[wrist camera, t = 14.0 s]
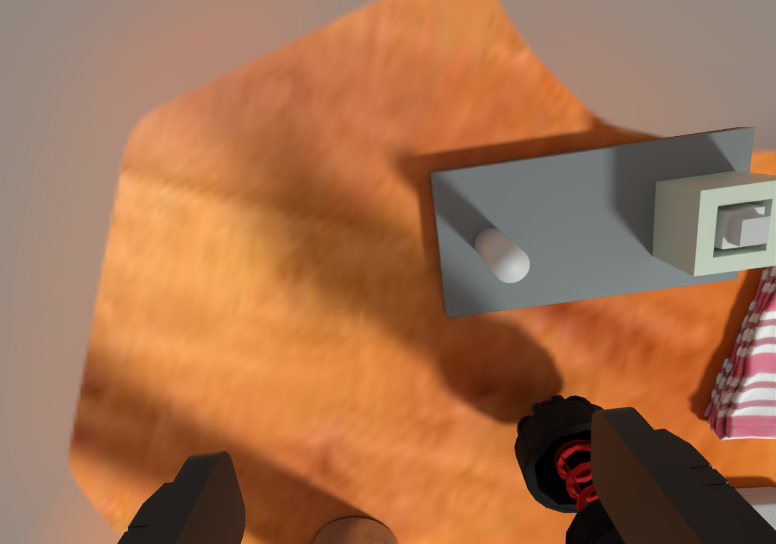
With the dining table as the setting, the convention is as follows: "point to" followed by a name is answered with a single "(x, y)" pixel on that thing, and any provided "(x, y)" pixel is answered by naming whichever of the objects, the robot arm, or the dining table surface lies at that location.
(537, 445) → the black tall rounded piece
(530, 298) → the board
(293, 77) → the dining table surface
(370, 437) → the dining table surface
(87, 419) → the dining table surface
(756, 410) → the dish towel
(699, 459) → the robot arm
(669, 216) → the collar
